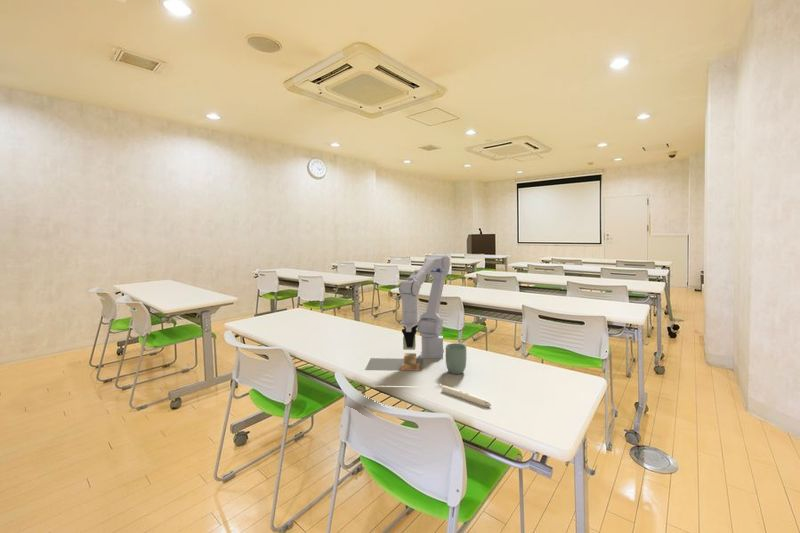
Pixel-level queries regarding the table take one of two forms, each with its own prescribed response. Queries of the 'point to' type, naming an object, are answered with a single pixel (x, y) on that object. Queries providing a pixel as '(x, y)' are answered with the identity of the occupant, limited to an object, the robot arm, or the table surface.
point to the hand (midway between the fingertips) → (410, 345)
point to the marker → (466, 396)
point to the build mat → (391, 364)
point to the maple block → (410, 361)
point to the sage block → (408, 347)
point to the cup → (456, 358)
